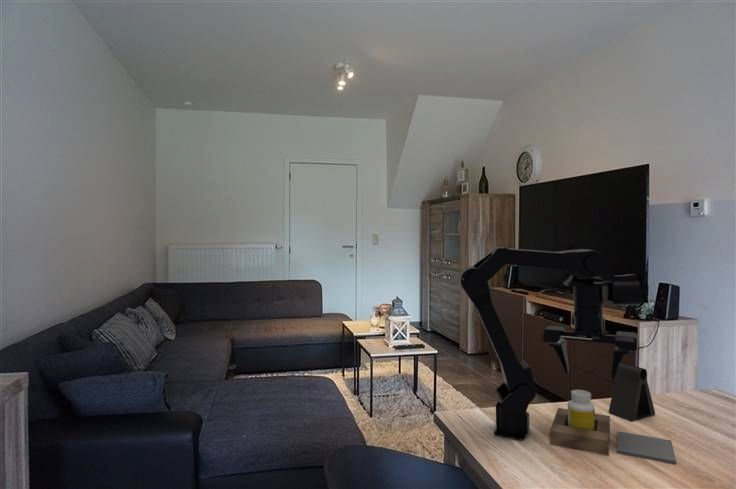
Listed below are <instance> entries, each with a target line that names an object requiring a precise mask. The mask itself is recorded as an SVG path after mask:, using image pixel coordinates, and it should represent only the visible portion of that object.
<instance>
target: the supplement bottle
mask: <svg viewBox="0 0 736 489" xmlns="http://www.w3.org/2000/svg"><path fill="white" fill-rule="evenodd" d="M570 398H571V399H570V400H568V403H567V409H568V426H569V427H575V428H581V429H586V430H592V431H595V414H596V413H595V410H596V409H595V405H594V403H593V402H592V393H591V392H589V391H588V390H583V389H573V390H571V391H570Z"/></svg>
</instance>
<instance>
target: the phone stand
mask: <svg viewBox="0 0 736 489" xmlns="http://www.w3.org/2000/svg"><path fill="white" fill-rule="evenodd" d="M613 386H614V387H613V390H612V394H611V398H610V403H609V407H608V413H609V414H610V415H614V416H615V417H619V418H622V419H623V420H624V419H625V420H627V421H630V422H631V423H632V422H635V421H639V420H643V419H646V418H649V417H652V416H653V417H654V416H655V415H656V411H655V406H654V403H653V400H652V399H653V398H652V394H651V391H650V387H649V384H648V371H647V369H646V368H644V367H639V366H636V365H631V364H628V363H624V362H620V363H619V366H618V369H617V372H616V375H615V382H614V385H613Z"/></svg>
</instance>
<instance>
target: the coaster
mask: <svg viewBox="0 0 736 489" xmlns="http://www.w3.org/2000/svg"><path fill="white" fill-rule="evenodd" d="M616 434H617V437H616V438H617V439H616V441H617V443H616V447H617V448H616V453H617V454H620V455H625V456H631V457H634V458H635V457H636V458H640V459H647V460H652V461H658V462H662V463H668V464H673V465H677V458H676V455H675V450H674V446H673V441H672V440H671V439H665V438H660V437H656V436H655V437H654V436H648V435H643V434H638V433H637V434H636V433H632V432H630V433H629V432H625V431H619V430H617V432H616Z"/></svg>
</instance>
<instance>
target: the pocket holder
mask: <svg viewBox="0 0 736 489" xmlns="http://www.w3.org/2000/svg"><path fill="white" fill-rule="evenodd" d="M610 436H611V416H610V415H608V414H599V413H595V431H592V430H586V429H581V428H575V427H569V426H568V408H563V407H558V408H557V409H556V413H555V414H554V418H553V420H552V424H551V426H550V430H549V439H550V440H549V445H553V446H558V447H563V448H567V449H568V448H569V449H574V450H578V451H582V452H588V453H594V454H599V455H604V456H609V453H610Z"/></svg>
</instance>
